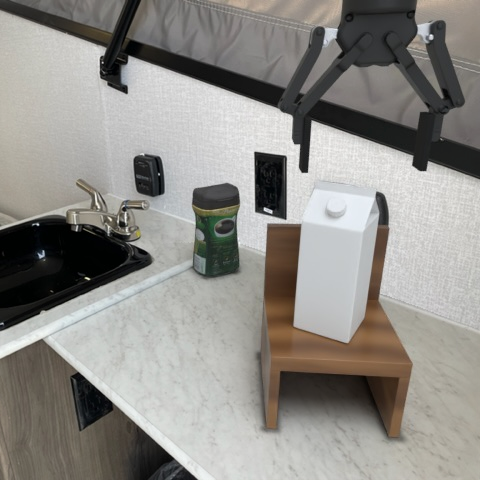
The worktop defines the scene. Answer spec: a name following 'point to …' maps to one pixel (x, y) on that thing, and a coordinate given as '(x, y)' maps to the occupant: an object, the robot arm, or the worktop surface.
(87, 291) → the worktop surface
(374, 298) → the wooden toy chair
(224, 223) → the coffee jar
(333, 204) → the milk carton
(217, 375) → the worktop surface
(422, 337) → the worktop surface
